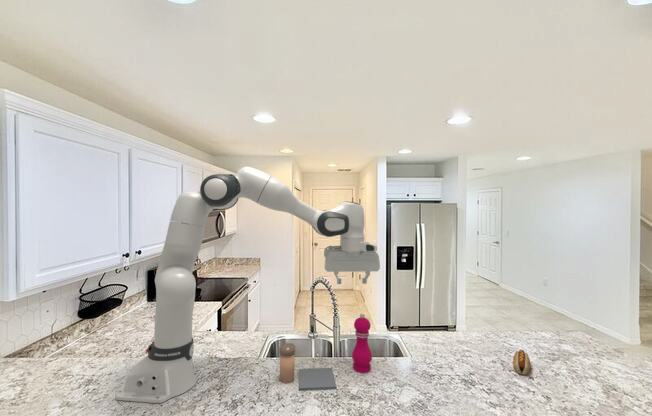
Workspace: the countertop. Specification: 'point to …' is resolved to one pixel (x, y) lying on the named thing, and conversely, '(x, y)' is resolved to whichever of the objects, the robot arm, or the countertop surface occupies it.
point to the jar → (287, 362)
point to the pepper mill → (362, 346)
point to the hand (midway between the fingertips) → (351, 283)
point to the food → (521, 362)
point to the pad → (316, 379)
